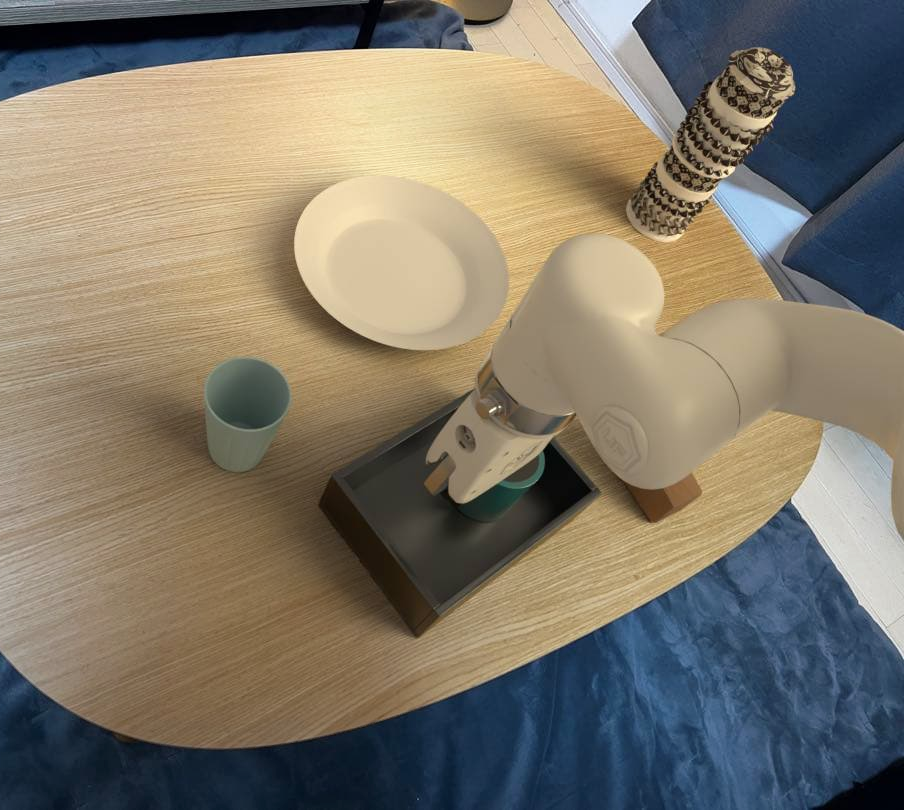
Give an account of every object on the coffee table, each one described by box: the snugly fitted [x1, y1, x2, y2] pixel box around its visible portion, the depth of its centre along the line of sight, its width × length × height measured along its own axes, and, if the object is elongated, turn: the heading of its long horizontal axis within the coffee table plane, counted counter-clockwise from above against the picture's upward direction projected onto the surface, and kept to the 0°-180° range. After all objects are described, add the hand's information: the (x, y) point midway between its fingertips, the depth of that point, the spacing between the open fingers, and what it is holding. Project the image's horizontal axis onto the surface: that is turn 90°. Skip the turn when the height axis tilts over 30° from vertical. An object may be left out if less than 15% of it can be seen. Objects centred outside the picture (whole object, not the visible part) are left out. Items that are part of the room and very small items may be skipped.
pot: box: [458, 450, 545, 522], centre depth 82 cm, size 7×7×8 cm
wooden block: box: [622, 472, 703, 524], centre depth 84 cm, size 9×4×18 cm, turn 28°
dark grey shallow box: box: [317, 387, 603, 639], centre depth 81 cm, size 16×22×7 cm
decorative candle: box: [625, 46, 796, 244], centre depth 103 cm, size 9×9×25 cm
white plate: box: [293, 175, 510, 351], centre depth 97 cm, size 25×25×4 cm
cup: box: [203, 355, 293, 473], centre depth 78 cm, size 8×8×10 cm
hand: (451, 491), depth 75 cm, fingers closed
